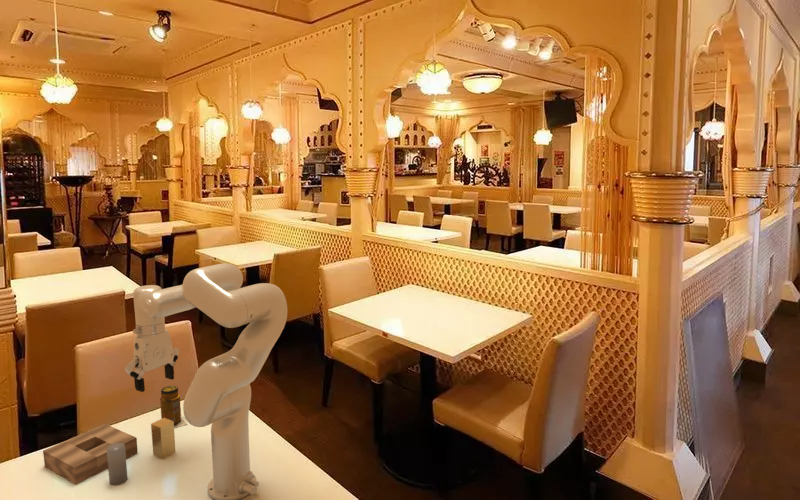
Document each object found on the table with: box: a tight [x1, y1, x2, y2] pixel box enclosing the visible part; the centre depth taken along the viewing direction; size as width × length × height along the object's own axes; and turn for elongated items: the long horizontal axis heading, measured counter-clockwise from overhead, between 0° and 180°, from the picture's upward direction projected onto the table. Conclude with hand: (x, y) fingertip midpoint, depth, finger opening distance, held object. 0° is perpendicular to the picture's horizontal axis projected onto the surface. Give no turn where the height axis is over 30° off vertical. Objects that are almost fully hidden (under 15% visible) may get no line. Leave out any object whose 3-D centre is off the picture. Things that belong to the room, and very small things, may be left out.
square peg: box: [150, 418, 176, 460], centre depth 156 cm, size 4×4×10 cm
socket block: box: [42, 423, 139, 485], centre depth 152 cm, size 16×18×5 cm
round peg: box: [107, 443, 129, 486], centre depth 143 cm, size 4×4×10 cm
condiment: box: [159, 385, 188, 429], centre depth 174 cm, size 7×8×12 cm
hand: (155, 384), depth 153 cm, fingers open, 9 cm apart
